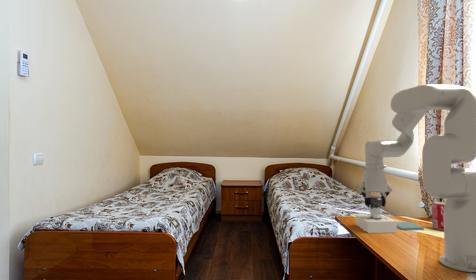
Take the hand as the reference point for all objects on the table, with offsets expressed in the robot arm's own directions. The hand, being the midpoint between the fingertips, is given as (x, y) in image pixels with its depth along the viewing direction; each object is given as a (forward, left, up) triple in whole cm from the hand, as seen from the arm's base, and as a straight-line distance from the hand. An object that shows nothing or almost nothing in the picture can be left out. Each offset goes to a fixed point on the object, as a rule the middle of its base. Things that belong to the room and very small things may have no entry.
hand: (375, 205), depth 138 cm
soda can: (-2, -30, -11) cm, 32 cm away
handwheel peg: (0, 0, -8) cm, 8 cm away
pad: (+2, -16, -11) cm, 19 cm away
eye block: (0, 0, -11) cm, 11 cm away
